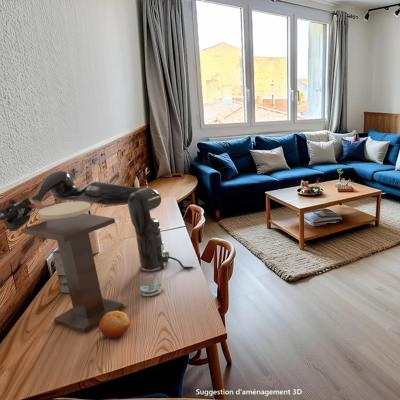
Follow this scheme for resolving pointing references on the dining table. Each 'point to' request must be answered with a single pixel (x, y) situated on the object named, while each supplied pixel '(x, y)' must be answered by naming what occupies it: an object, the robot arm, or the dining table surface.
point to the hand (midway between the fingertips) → (33, 199)
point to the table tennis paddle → (60, 209)
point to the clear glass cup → (150, 287)
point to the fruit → (114, 324)
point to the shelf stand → (78, 268)
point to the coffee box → (60, 271)
